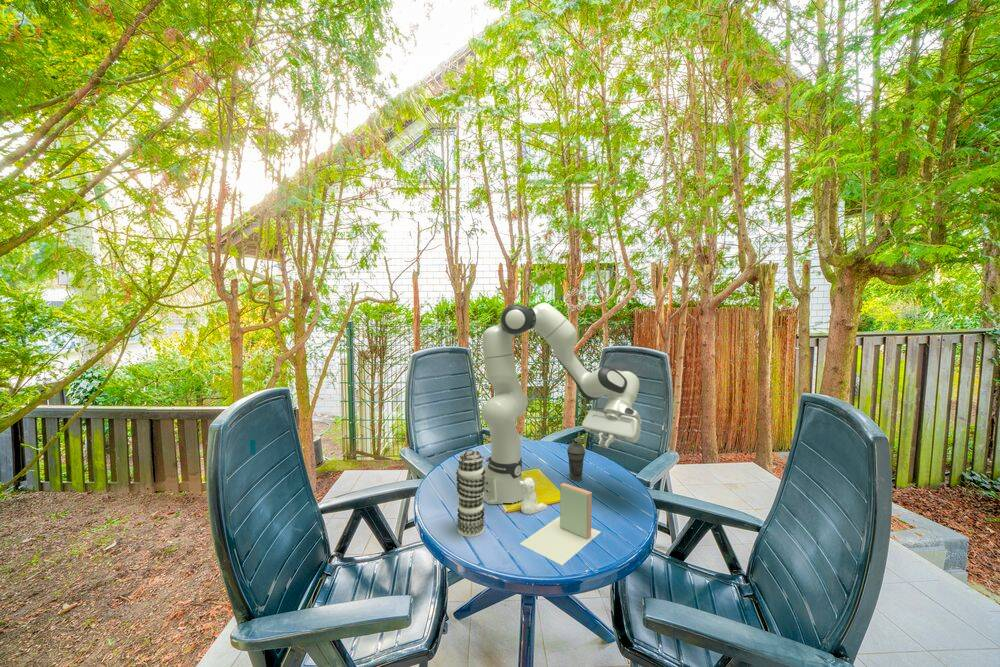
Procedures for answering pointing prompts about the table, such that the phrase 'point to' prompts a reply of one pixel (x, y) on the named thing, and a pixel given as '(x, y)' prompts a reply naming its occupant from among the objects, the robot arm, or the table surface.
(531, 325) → the robot arm
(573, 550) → the mat
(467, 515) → the stacked ring tower
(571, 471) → the beverage cup
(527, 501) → the seated beast figurine
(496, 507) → the table surface
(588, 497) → the tile
